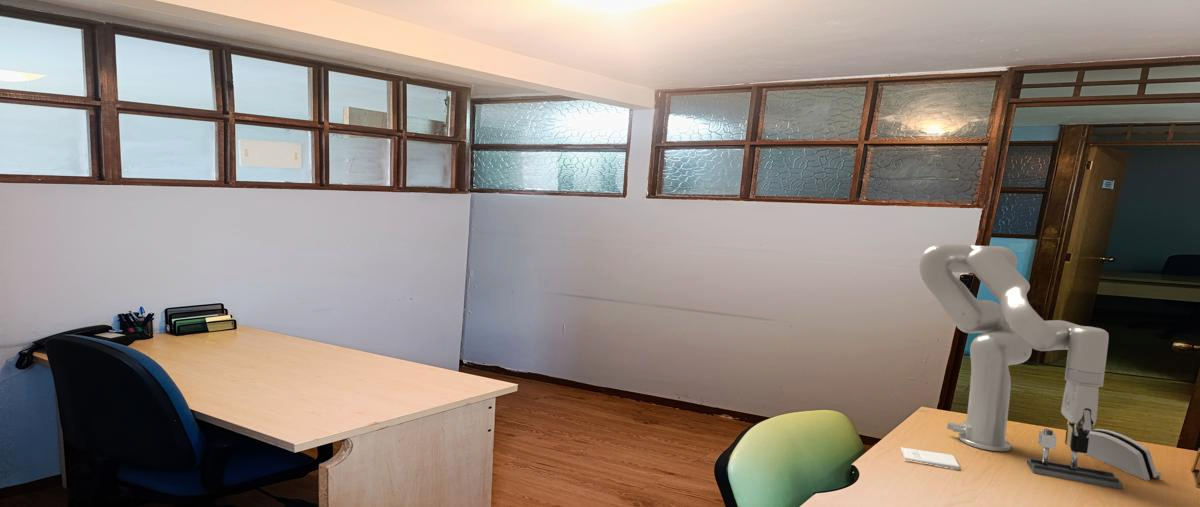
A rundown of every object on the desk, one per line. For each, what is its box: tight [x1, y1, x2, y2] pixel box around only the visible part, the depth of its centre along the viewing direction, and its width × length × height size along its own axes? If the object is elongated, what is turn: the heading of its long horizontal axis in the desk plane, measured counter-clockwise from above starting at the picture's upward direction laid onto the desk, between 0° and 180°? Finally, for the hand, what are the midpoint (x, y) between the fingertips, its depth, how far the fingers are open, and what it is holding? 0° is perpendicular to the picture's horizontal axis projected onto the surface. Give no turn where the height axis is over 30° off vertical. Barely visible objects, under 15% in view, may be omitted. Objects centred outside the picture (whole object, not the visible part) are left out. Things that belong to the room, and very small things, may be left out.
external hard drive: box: [899, 446, 960, 471], centre depth 160 cm, size 2×8×12 cm
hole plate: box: [1026, 428, 1124, 490], centre depth 154 cm, size 18×7×10 cm, turn 66°
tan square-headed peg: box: [1066, 424, 1082, 469], centre depth 154 cm, size 3×3×11 cm
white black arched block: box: [1084, 428, 1162, 481], centre depth 162 cm, size 17×5×10 cm, turn 9°
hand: (1075, 447), depth 154 cm, fingers open, 4 cm apart
